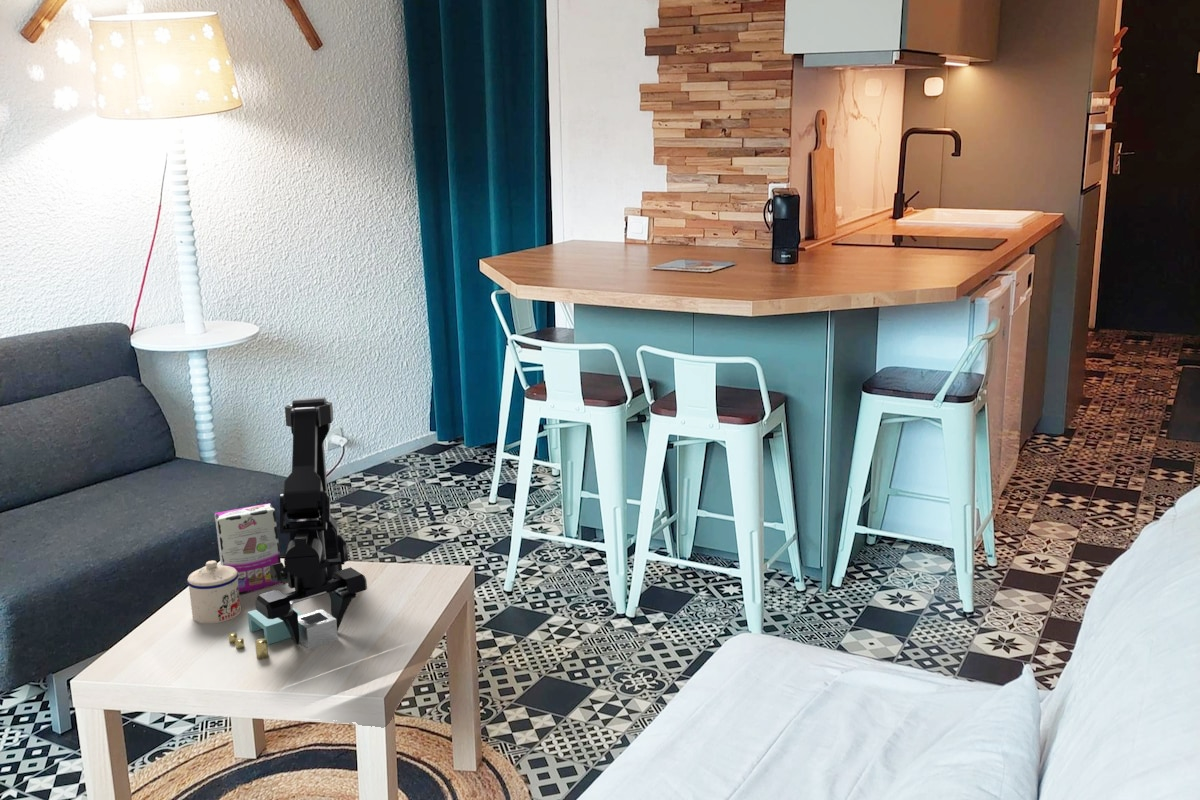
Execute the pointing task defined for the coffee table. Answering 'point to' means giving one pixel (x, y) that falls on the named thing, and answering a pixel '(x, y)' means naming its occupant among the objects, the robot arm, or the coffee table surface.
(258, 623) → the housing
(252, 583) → the candy bar box
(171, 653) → the coffee table surface
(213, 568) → the teacup with lid
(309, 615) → the hollow square metal block
